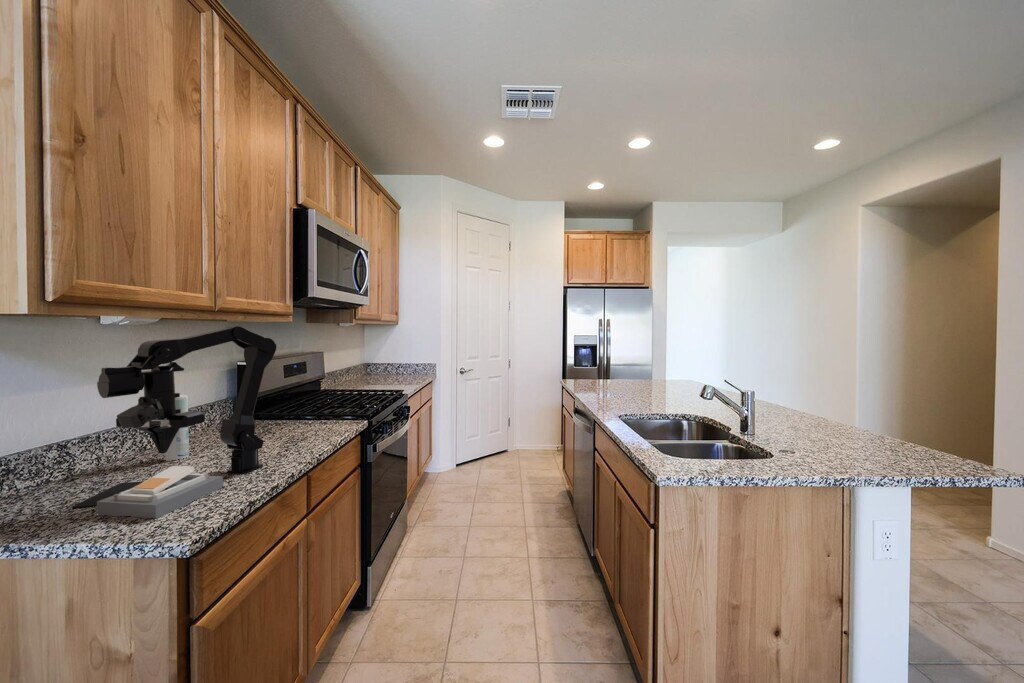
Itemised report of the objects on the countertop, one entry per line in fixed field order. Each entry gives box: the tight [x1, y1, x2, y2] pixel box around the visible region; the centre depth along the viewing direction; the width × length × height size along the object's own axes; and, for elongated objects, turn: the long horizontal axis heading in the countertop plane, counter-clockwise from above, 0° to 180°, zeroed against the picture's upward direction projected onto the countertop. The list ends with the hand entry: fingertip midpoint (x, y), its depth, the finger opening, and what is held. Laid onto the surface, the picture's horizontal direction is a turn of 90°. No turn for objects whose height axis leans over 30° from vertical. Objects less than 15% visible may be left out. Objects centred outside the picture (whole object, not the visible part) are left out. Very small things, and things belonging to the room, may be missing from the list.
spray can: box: [162, 394, 190, 462], centre depth 126 cm, size 6×6×20 cm
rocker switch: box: [131, 465, 195, 495], centre depth 95 cm, size 10×6×1 cm, turn 173°
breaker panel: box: [96, 472, 224, 520], centre depth 95 cm, size 17×15×4 cm
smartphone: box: [71, 480, 145, 510], centre depth 98 cm, size 7×1×15 cm
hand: (163, 453), depth 98 cm, fingers closed
